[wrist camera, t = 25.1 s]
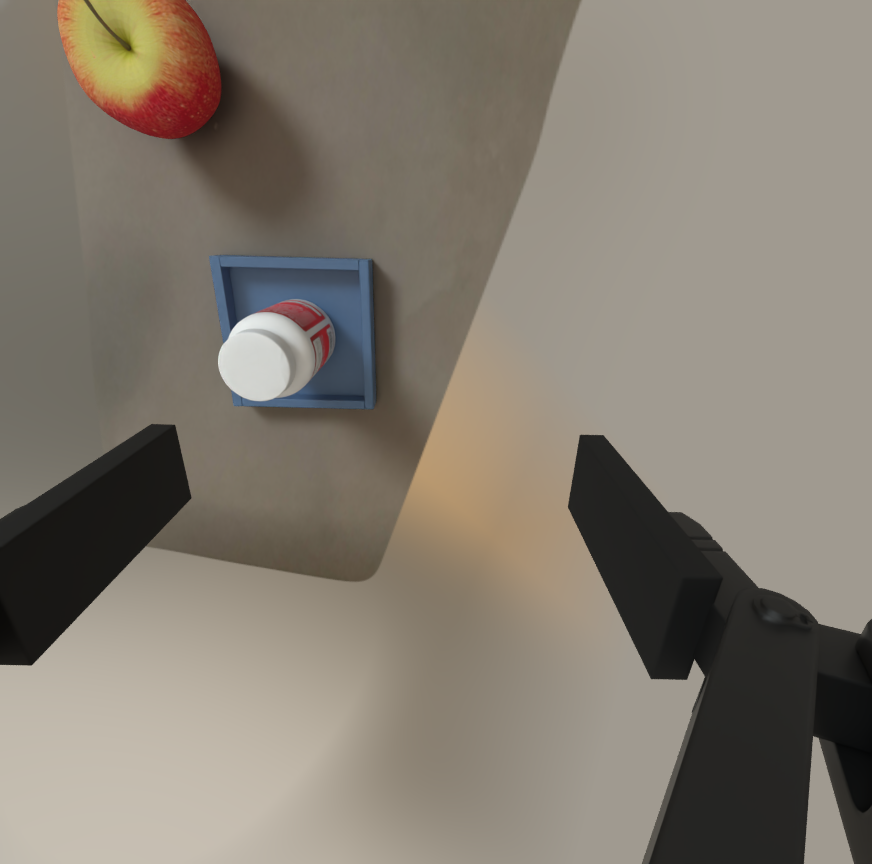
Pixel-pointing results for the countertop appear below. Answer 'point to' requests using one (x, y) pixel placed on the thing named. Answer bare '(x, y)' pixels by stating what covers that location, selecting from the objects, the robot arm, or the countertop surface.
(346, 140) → the countertop surface
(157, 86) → the apple
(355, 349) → the medicine tray
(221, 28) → the countertop surface
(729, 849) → the robot arm
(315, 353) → the pill bottle
